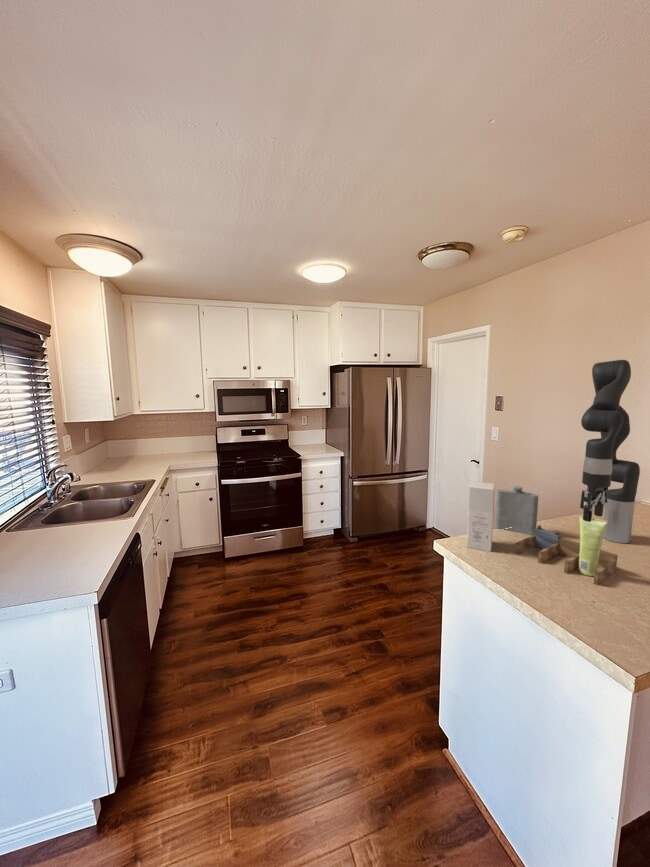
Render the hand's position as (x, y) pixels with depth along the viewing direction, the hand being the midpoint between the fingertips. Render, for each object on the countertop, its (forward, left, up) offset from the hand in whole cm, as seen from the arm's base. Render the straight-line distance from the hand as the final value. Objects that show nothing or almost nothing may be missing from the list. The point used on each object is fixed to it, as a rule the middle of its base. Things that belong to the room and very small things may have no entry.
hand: (592, 518), depth 118 cm
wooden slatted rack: (-2, -9, -20) cm, 21 cm away
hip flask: (-15, -33, -20) cm, 42 cm away
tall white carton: (+11, -33, -20) cm, 40 cm away
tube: (0, 0, -20) cm, 20 cm away
